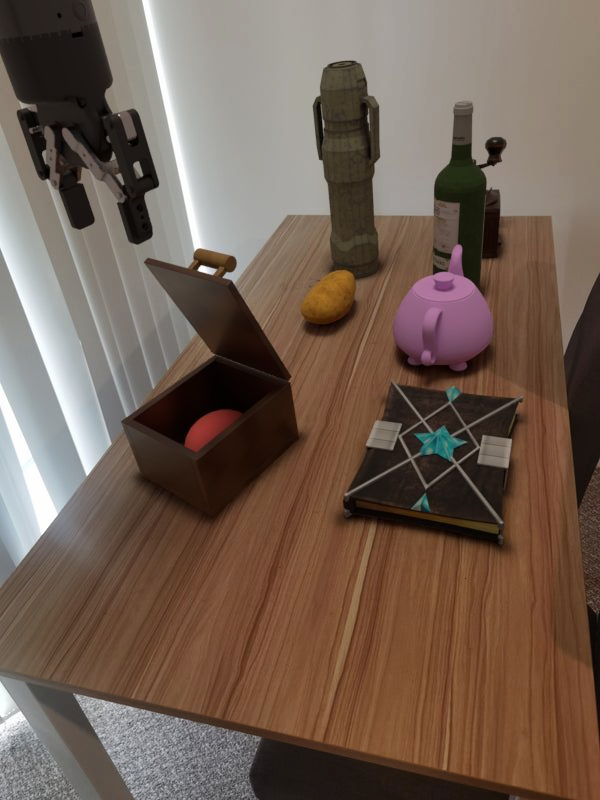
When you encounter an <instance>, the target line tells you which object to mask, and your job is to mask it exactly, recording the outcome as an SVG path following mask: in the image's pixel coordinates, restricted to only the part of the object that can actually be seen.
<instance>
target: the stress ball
mask: <svg viewBox="0 0 600 800" xmlns="http://www.w3.org/2000/svg"><path fill="white" fill-rule="evenodd" d="M241 415H242V413H241V412H238V411H235V410H217V411H214V412H211V413H209V414H207V415H205V416H203V417H202V418H200V419H199V420H198V421H197V422H196V423H195V424H194V425H193V426H192V427H191V428H190V430H189V432H188V434H187V436H186V440H185V445H184V446H185V447H187V448H189V449H191V450H193V451H195V452H197V451H199V450H200V449H201V448H202V447H203V446H205V445H206V444H207V443H208V442H210V441H211V440H212V439H213V438H214V437H216V436H217V435H218V434H219V433H221V432H222V431H223V430H224V429H225V428H227V427H228V426H229V425H230V424H232V423H233V422H234V421H235V420H236V419H238V418H239V417H240V416H241Z"/></svg>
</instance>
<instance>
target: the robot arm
mask: <svg viewBox="0 0 600 800" xmlns="http://www.w3.org/2000/svg"><path fill="white" fill-rule="evenodd" d="M99 26H100V25H99V23H98V20H97V16H96V12H95V9H94V4H93V1H92V0H0V57H1V61H2V63H3V65H4V68H5V71H6V73H7V77H8V79H9V82H10V85H11V87H12V90H13V92H14V95H15V97H16V99H17V100H18V101H20V103H22V104H25V105H29V106H27V107H24V108H21V109H18V110H16V117H17V120H18V123H19V126H20V128H21V132H22V135H23V137H24V140H25V143H26V146H27V150H28V151H29V154H30V155H29V156H30V158H31V160H32V161H31V162H32V163H33V166H34V169H35V172H36V175H37V176H38V178H39V179H40V180H41V181H43V182H44V181H47V180H48V181H49V182H50V185H51V187H52V188H53V189H54V190H55V191H58V194H59V196H60V199H61V201H62V205H63V207H64V210H65V213H66V215H67V218H68V222H69V223H70V226H71V228H72V229H75V230H79V231H81V230H83V229H85V228H87V227H90V226H92V225H94V224H95V222H96V219H95V214H94V211H93V209H92V205H91V202H90V200H89V197H88V194H87V191H86V188H85V184H84V183H82V182H81V180H82V173H83V168H84V169H85V170H89V171H90V173H91V174H92V175H93V177H94V178H95V179H96V180H97V181H99V182H103V183H105V185H106V186H107V187H108V189H109V190H110V192H111V193H112V195H113V196H114V197H115V199H116V200H117V202H116V206H117V209H118V211H119V215H120V218H121V221H122V222H121V223H122V224H123V228H124V232H125V235H126V238H127V241H128V243H130V244H132V245H137V246H138V245H141V244H143V243H146V241H149V240H151V239H152V238H153V235H154V231H153V224H152V221H151V217H150V214H149V210H148V206H147V203H146V199H145V197H146V194H147V193H148V192H151V191H153V190H155V189H158V188H159V187H160V180H159V177H158V174H157V170H156V167H155V163H154V159H153V157H152V153H151V149H150V146H149V142H148V139H147V136H146V133H145V130H144V125H143V123H142V119H141V115H140V114H139V112H138V111H137V110H136V109H135V108H130V109H127V110H122V111H118V112H113V111H112V109H111V107H110V105H109V103H108V101H107V99H106V92H107V90H109V89H110V88H111V87H112V85H113V83H114V76H113V73H112V70H111V67H110V63H109V59H108V56H107V51H106V48H105V44H104V40H103V38H102V33H101V30H100V27H99ZM43 152H45V159H44V155H43ZM113 154H114V157H115V159H112V158H113ZM136 163H138V164H139V166H140V167H139V168H140V170H141V173H142V176H141V174H140V173H139V172H138V170H137V169H136V167H135V166H134V165H135V164H136ZM118 175H121V179H122V181H123V183H122V182H121V180H120V179H119V178H118V177H117V176H118Z"/></svg>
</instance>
